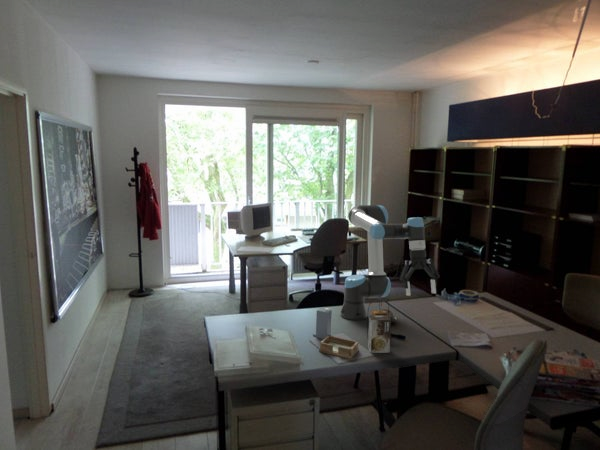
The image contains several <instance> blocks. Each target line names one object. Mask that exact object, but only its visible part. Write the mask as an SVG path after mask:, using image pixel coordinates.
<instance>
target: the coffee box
mask: <svg viewBox="0 0 600 450" xmlns="http://www.w3.org/2000/svg"><path fill="white" fill-rule="evenodd" d="M389 316H390V315H389ZM389 316H388V315H372V314H371V315H369V314H368V337H367V341H368V343H367V349H368V351H369V353H371V354H382V353H383V354H385V353H386V354H390V350H391V333H390V330H391V331H392V329H391V326H392V323H391V322H392V320H391V319H392V318H390V317H389Z"/></svg>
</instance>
